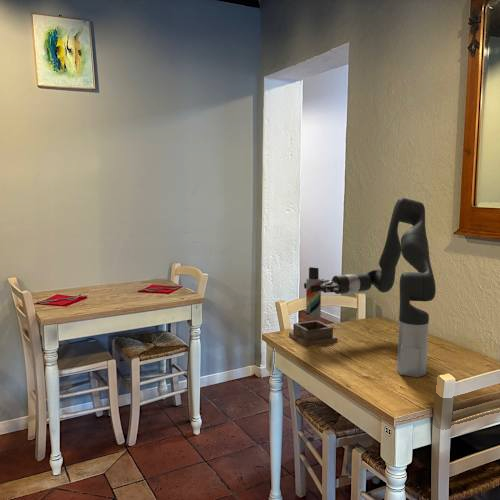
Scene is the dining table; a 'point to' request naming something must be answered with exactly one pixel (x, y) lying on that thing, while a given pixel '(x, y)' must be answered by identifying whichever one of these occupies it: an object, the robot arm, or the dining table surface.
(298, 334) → the bottle holder
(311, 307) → the lotion bottle
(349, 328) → the dining table surface
